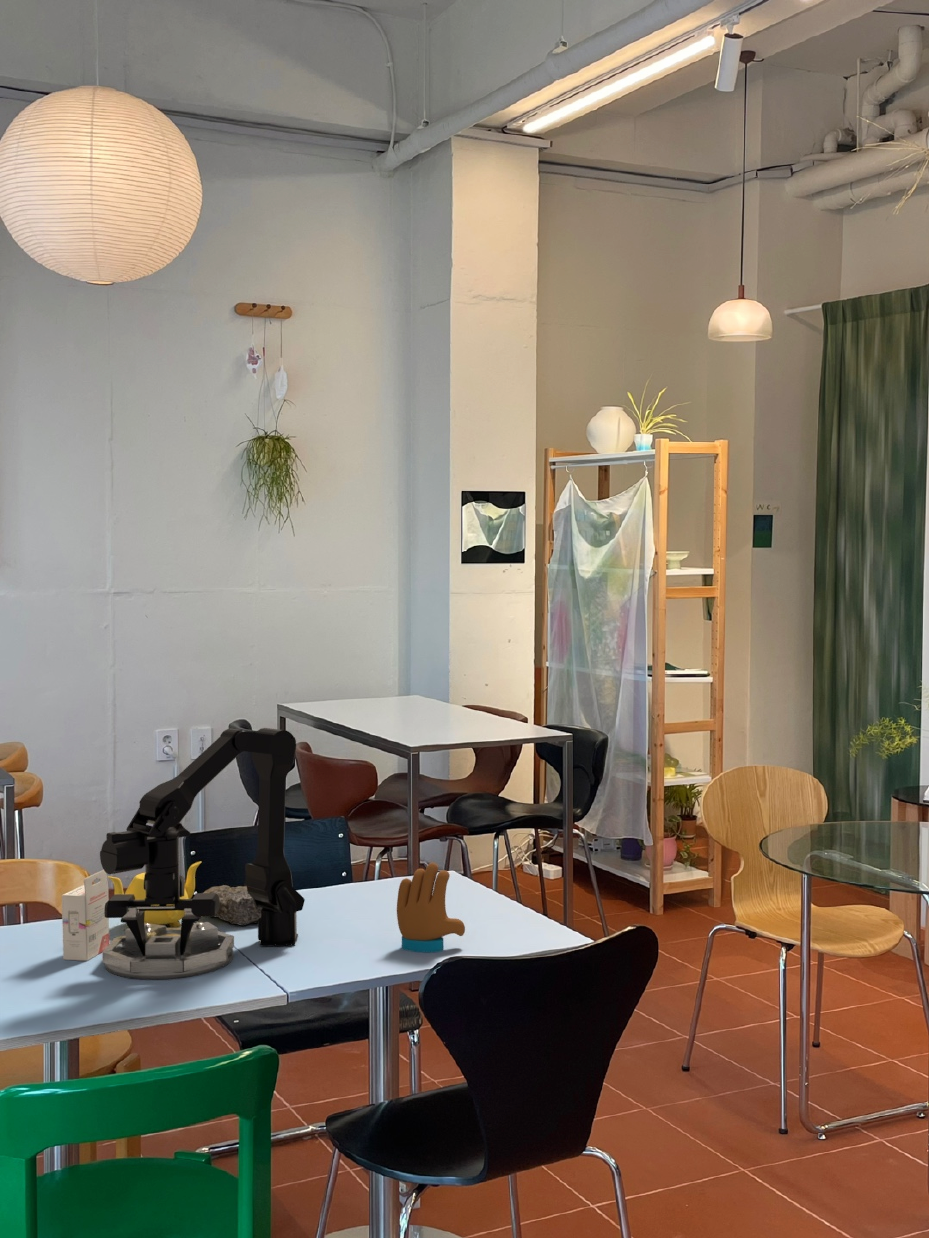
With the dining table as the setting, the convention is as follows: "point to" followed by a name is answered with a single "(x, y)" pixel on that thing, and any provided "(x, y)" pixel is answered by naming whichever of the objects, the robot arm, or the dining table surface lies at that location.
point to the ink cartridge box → (85, 919)
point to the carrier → (199, 957)
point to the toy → (425, 911)
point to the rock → (236, 905)
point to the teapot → (157, 916)
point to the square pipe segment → (163, 947)
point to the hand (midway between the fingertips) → (163, 954)
